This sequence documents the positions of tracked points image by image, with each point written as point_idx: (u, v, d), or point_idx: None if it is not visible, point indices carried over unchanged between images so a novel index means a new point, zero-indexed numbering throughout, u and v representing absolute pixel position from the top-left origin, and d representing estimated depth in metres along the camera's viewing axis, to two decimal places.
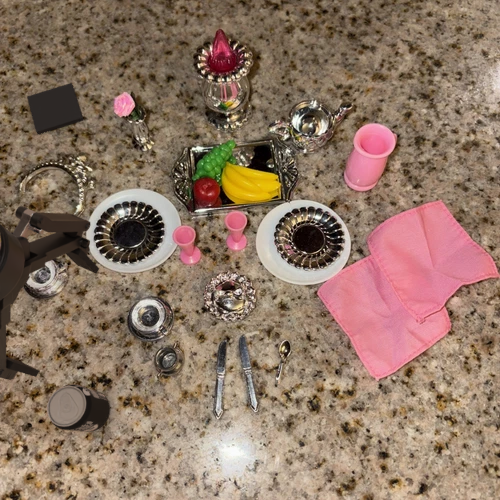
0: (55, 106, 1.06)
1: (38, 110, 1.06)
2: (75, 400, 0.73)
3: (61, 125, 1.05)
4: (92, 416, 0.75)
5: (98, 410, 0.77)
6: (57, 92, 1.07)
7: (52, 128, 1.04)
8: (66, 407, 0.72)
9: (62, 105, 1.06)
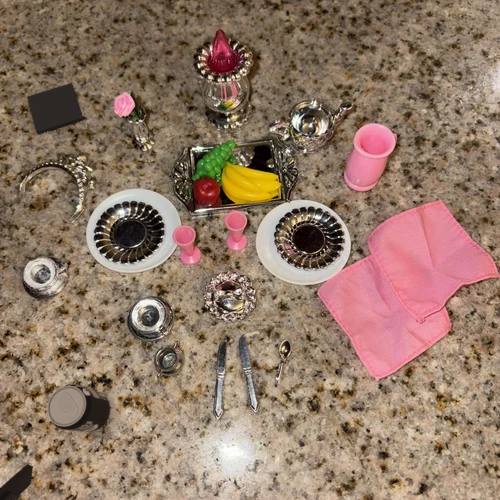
0: (55, 106, 1.06)
1: (38, 110, 1.06)
2: (75, 400, 0.73)
3: (61, 125, 1.05)
4: (92, 416, 0.75)
5: (98, 410, 0.77)
6: (57, 92, 1.07)
7: (52, 128, 1.04)
8: (66, 407, 0.72)
9: (62, 105, 1.06)
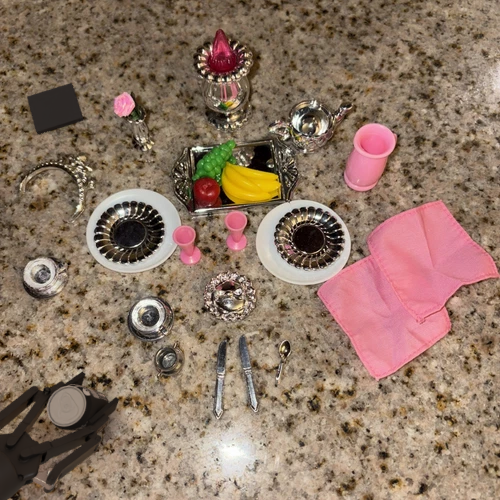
0: (55, 106, 1.06)
1: (38, 110, 1.06)
2: (75, 400, 0.73)
3: (61, 125, 1.05)
4: (92, 416, 0.75)
5: (98, 410, 0.77)
6: (57, 92, 1.07)
7: (52, 128, 1.04)
8: (66, 407, 0.72)
9: (62, 105, 1.06)
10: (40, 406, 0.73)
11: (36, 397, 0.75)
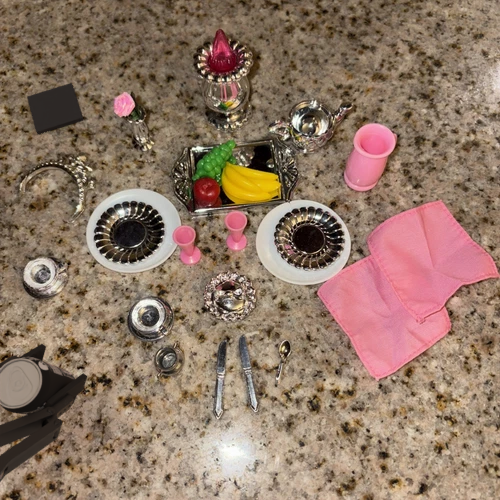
0: (55, 106, 1.06)
1: (38, 110, 1.06)
2: (28, 376, 0.58)
3: (61, 125, 1.05)
4: (51, 396, 0.60)
5: (60, 389, 0.62)
6: (57, 92, 1.07)
7: (52, 128, 1.04)
8: (17, 385, 0.58)
9: (62, 105, 1.06)
10: None
11: None
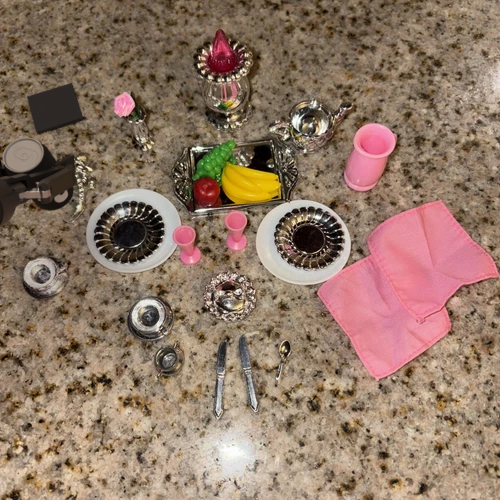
0: (55, 106, 1.06)
1: (38, 110, 1.06)
2: (29, 147, 0.70)
3: (61, 125, 1.05)
4: (54, 163, 0.72)
5: None
6: (57, 92, 1.07)
7: (52, 128, 1.04)
8: (23, 156, 0.70)
9: (62, 105, 1.06)
10: None
11: None
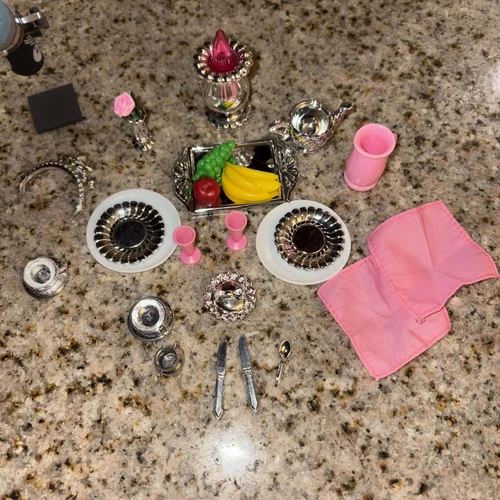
0: (55, 106, 1.06)
1: (38, 110, 1.06)
2: None
3: (61, 125, 1.05)
4: None
5: None
6: (57, 92, 1.07)
7: (52, 128, 1.04)
8: None
9: (62, 105, 1.06)
10: None
11: None
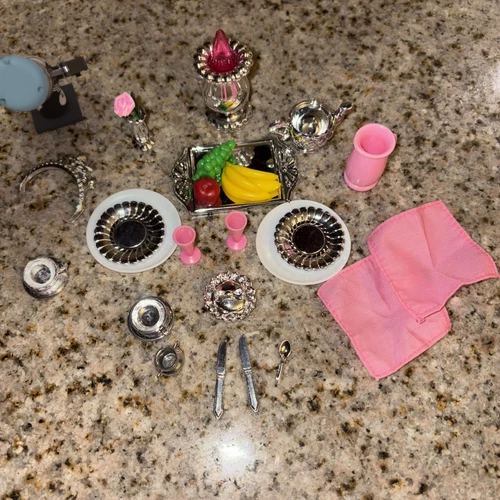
0: None
1: None
2: None
3: (61, 125, 1.05)
4: None
5: None
6: None
7: (52, 128, 1.04)
8: None
9: None
10: None
11: None
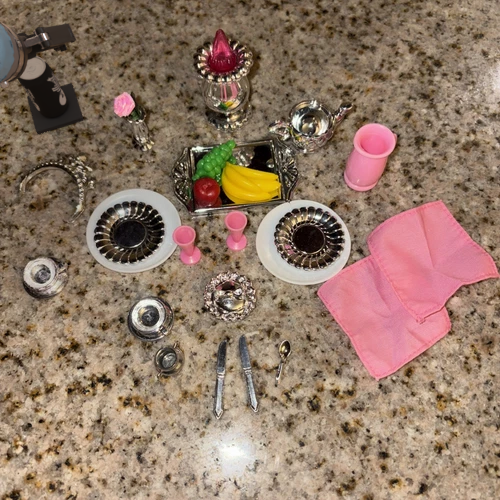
0: None
1: None
2: (31, 62, 0.96)
3: (61, 125, 1.05)
4: None
5: None
6: None
7: (52, 128, 1.04)
8: (31, 68, 0.95)
9: None
10: None
11: None
